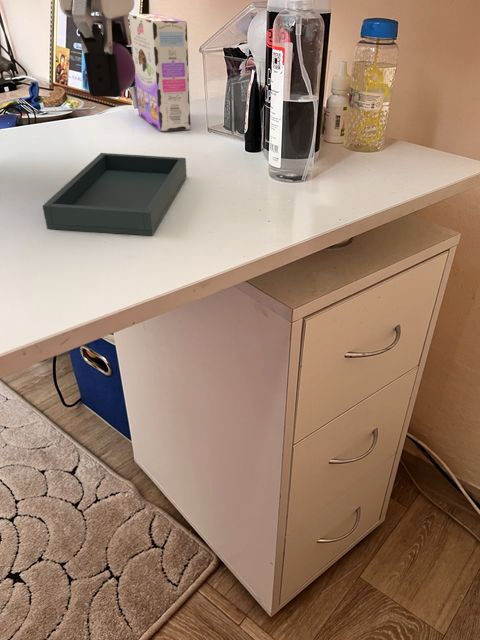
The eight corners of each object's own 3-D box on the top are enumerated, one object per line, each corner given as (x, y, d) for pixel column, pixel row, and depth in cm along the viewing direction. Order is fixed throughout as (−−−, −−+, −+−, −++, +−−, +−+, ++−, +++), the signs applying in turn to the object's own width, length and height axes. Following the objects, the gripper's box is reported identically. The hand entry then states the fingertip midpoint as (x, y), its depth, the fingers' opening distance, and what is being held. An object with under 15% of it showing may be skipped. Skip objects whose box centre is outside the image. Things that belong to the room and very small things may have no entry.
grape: (84, 96, 56) (76, 42, 53) (99, 88, 60) (92, 37, 57) (130, 99, 56) (125, 45, 53) (142, 90, 60) (138, 39, 57)
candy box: (192, 130, 93) (188, 20, 84) (160, 132, 91) (152, 20, 81) (166, 112, 103) (160, 12, 93) (136, 114, 101) (127, 12, 91)
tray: (47, 228, 58) (42, 205, 56) (103, 172, 74) (100, 152, 72) (152, 235, 57) (150, 212, 56) (186, 177, 73) (185, 157, 72)
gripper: (78, -121, 54) (104, 76, 65) (0, -150, 41) (49, 106, 51) (151, -119, 54) (164, 79, 65) (97, -147, 40) (125, 109, 51)
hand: (113, 89), depth 58 cm, fingers closed on grape, 4 cm apart
